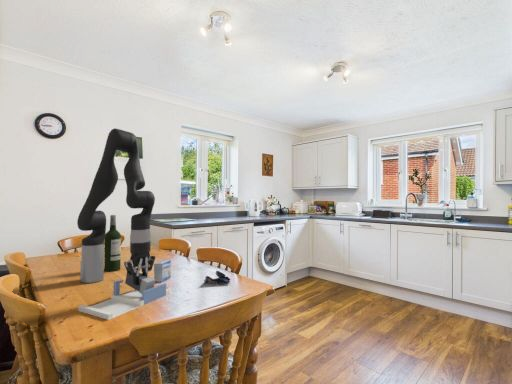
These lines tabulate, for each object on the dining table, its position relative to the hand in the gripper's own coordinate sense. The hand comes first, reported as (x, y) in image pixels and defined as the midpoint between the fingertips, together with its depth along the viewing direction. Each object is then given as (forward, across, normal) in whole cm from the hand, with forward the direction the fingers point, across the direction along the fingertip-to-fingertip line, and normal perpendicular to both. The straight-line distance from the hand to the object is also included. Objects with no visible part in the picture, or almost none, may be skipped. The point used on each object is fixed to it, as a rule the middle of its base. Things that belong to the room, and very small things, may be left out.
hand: (140, 283), depth 110 cm
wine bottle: (+5, -22, -48) cm, 53 cm away
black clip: (+6, -30, +17) cm, 35 cm away
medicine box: (+6, -21, -10) cm, 24 cm away
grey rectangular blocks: (+2, 0, -1) cm, 2 cm away
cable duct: (+5, +6, 0) cm, 8 cm away
